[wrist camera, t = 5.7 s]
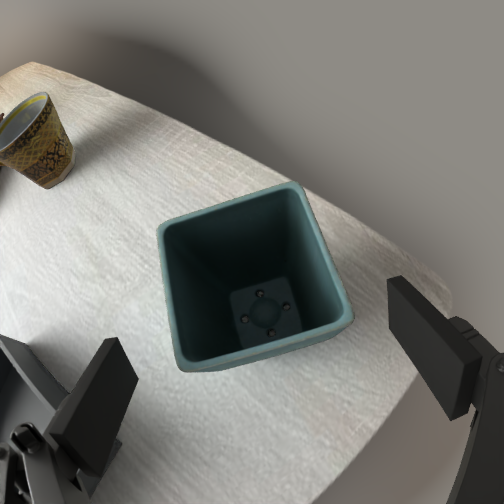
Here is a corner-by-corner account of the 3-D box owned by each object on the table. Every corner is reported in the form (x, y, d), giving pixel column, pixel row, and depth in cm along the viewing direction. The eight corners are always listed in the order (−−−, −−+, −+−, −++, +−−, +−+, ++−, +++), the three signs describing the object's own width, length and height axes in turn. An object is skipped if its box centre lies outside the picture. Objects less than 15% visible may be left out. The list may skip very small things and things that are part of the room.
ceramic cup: (88, 131, 39) (54, 80, 30) (84, 180, 34) (38, 124, 25) (22, 169, 39) (-15, 129, 30) (12, 220, 34) (-35, 179, 25)
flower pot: (198, 278, 26) (153, 222, 18) (302, 246, 26) (298, 176, 18) (222, 384, 22) (177, 374, 14) (339, 349, 22) (358, 322, 14)
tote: (122, 443, 21) (92, 447, 17) (65, 540, 16) (38, 550, 12) (25, 343, 26) (-4, 332, 22) (-16, 440, 21) (-43, 438, 18)
